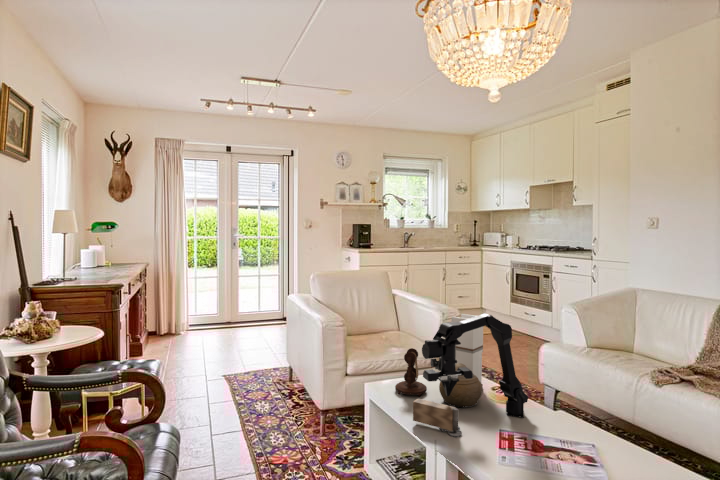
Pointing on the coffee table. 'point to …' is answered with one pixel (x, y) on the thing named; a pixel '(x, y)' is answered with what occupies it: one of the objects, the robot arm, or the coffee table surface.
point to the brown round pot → (463, 391)
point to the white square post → (470, 348)
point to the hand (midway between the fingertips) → (447, 396)
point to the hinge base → (455, 433)
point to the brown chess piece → (411, 376)
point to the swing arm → (435, 414)
